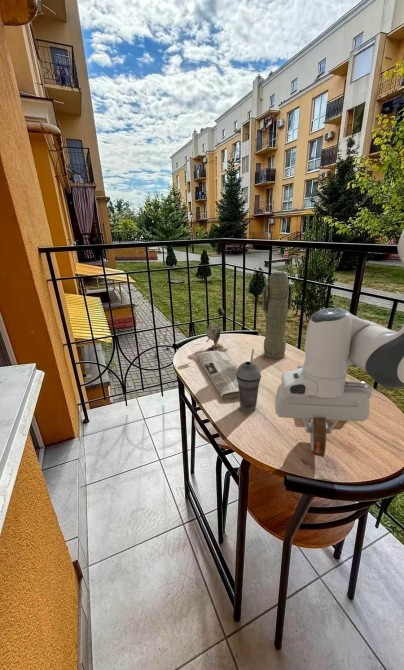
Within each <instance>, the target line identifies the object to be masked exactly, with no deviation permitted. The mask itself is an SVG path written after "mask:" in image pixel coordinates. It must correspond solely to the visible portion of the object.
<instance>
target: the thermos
mask: <svg viewBox="0 0 404 670" xmlns="http://www.w3.org/2000/svg"><path fill="white" fill-rule="evenodd" d="M293 290H294V289H293V286H292V284H290V283H289V279H288V274H287V273H285V272H281V271H278V272H276V271H275V272H272V273H270V275H269V278H268V280H267V285H265V286H264V287H263V288H262V301H261V310H262V311H263V312H264V313H265V315H264V316H265V338H264V340H263V356H264V357H265V358H266V359H268V360H275V361H276V360H282V359H284V358H285V355H286V354H285V353H286V347H287V340H286V338H285V337H286V327H287V326H286V325H287V318H288V315H289V311H290V310H291V309H292V302H293Z"/></svg>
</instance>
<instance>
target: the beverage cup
mask: <svg viewBox="0 0 404 670" xmlns="http://www.w3.org/2000/svg"><path fill="white" fill-rule="evenodd" d="M254 353H255V349H254V348H252V349H251V355H250V361H244V362H242V363H241V364H240V365H239V366H237V368H238V369H237V373H236V377H237V382H238V388H239V396H238V398H239V407H240V408H239V409H240V411H241V412H242V413H244V414H253V413H254V412H255V411H256V407H257V402H258V394H259V388H260V382H261V379H262V372H261V370H260V367H259V365H257V364H256V363H255V362H253V358H254Z"/></svg>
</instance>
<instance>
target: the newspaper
mask: <svg viewBox="0 0 404 670" xmlns="http://www.w3.org/2000/svg"><path fill="white" fill-rule="evenodd" d="M196 358H197V360H198V361H199V363H200V365H201V366H202V368H203V370H204V371H205V373H206V375H207V376H208V378H209V379H210V381H211V383H212V385H213V386H214V388H215V389H216V391H217V392H218V394H219V396H220V398H221V399H225V400H227V399H233V398H239V388H238V382H237V377H236V373H237V369H238V366H236V363H234V361H233V360H232V359H231V357H230V356H229V355H228V354H227V352H226V350H223V351H217V350H216V351H209V350H207V351H203V352H198V353H197V354H196Z"/></svg>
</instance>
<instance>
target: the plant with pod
mask: <svg viewBox="0 0 404 670" xmlns="http://www.w3.org/2000/svg"><path fill="white" fill-rule="evenodd" d="M216 311H217V314H218V323H220V321H221V316H223V317H224V318H225V317H226V316H225V310H224V309H223V307H222V306H220V307H219V308H217V309H216ZM206 337H207V340H206V342H205V343H208V342H209V341H210V340H211V341H213V344H212V345H211V346H210V347H207V348H208V349H209V350H210V351H216V350H217V351H221V352H224V351H228V348H226V347H225V346H223V345H222V344H220V343H219V340H220V338H221V326H220V324H217V323H216V322H215V321H212V322H211V323H209V325H208V327H207V329H206ZM209 350H208V351H209Z"/></svg>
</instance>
